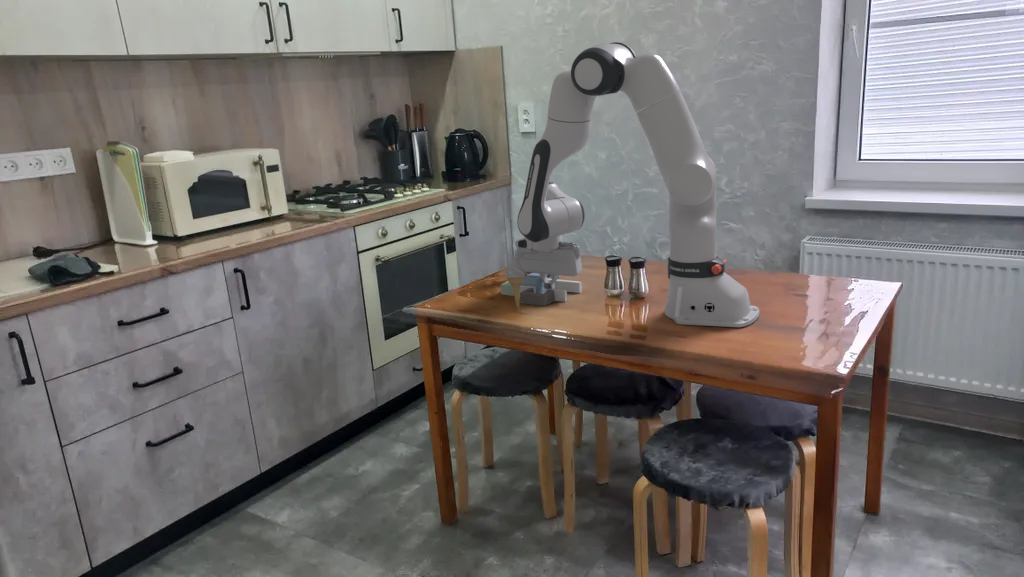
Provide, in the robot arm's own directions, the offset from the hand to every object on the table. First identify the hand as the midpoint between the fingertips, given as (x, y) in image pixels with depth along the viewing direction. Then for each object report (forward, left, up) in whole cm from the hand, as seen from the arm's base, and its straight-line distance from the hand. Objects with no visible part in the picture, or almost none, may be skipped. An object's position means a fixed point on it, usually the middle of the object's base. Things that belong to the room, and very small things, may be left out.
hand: (549, 288), depth 199 cm
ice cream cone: (+1, +15, -2) cm, 15 cm away
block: (+5, 0, -2) cm, 5 cm away
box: (+2, 0, -2) cm, 3 cm away
